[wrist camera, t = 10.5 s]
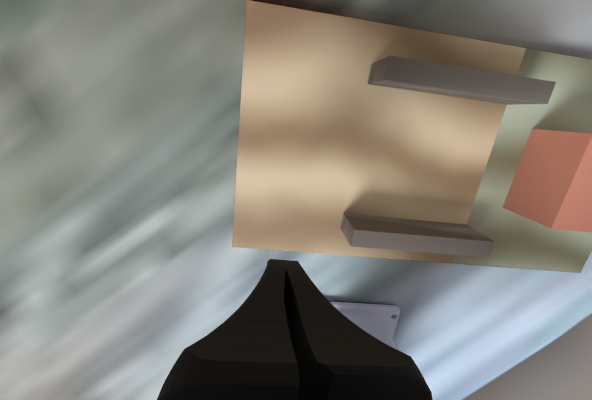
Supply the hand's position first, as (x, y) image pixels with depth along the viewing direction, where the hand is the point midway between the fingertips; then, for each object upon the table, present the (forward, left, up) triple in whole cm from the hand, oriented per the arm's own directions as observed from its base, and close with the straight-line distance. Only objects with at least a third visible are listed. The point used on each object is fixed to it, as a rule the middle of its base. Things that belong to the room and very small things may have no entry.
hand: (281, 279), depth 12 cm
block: (+5, -20, -8) cm, 23 cm away
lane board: (+5, -13, -9) cm, 17 cm away
